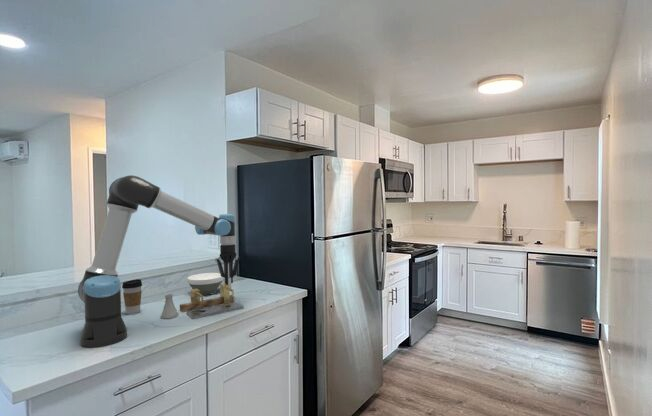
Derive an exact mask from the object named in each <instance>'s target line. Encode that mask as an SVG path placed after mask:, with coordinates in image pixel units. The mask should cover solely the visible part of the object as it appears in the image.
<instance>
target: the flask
mask: <svg viewBox="0 0 652 416" xmlns="http://www.w3.org/2000/svg"><path fill="white" fill-rule="evenodd" d="M173 295H174V294H173V293H167V294H165V295H164V297H165V302H164V305H163V309H162V311H161V314H160V319H163V320H165V319H166V320H170V319H173V318H177V317H178V316H179V312H178V311H177V308H176V306H175V304H174V301H173Z"/></svg>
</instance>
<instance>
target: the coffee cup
mask: <svg viewBox="0 0 652 416" xmlns="http://www.w3.org/2000/svg"><path fill="white" fill-rule="evenodd" d="M142 286H143V281H142V279H139V278H138V279H137V278H136V279H131V280H128V281H127V280H126V281H124V282H122V284H121V288H122V289H123V294H122V295H123V300H124V301H123V302H124V307H125V314H127V315H135V314H139V313H140V312H141V303H142V302H141V301H142V291H143V290H142Z"/></svg>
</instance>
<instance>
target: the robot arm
mask: <svg viewBox="0 0 652 416" xmlns="http://www.w3.org/2000/svg"><path fill="white" fill-rule="evenodd" d="M106 206H107V207H108V212H107V215H106V218H105V222H104V225H103V228H102V231H101V235H100V238H99V241H98V245H97V248H96V250H95V254H94V257H93V260H92V263H91V266H89V267H87V268H86V269H85V272H84V275H83V277H82V279H81V281H80V282H79V284H78V287H77V294H78V297H79V299H80V300H81V301H82V302H83V304H84V321H85V322H84V326H83V329H82V332H81V335H80V338H79V345H80V346H81V347H84V348H98V347H105V346H109V345H113V344H116V343H119V342H122V341H123V340H124V339H126V338H127V337H128V329H127V326H126V324H125V321H124V319H123V317H122V296H121V292H122V291H121V288H122V284H121V280H120V278H119V277H118V276H119V274H118V271H117V270H116V269H117V265H118V261H119V258H120V255H121V251H122V249H123V246H124V241H125V238H126V235H127V232H128V228H129V225H130V220H131V218H132V216H133V214H135V213H136V212H137V211H138V208H139V206H142V207H145V208H147V209H151V208H153V209H156V210H158V211H160V212H162V213H164V214H167V215H169V216H172V217H174V218H176V219H179V220H181V221H183V222H185V223H188V224H190V225H192V226H194V228H195V233H196V234H197V235H198V236H199V235H203V236H205V235H212V236H219V244H220V246H219V247H220V248H219V249H220V250H219V251H220V253H219V257H218V258H215V261H214V262H215V263H217V267H218V271H219V273H220V275H221V277H223V279H224V284H228V285H229V288H230V289H232V284H234V283H233V282H234V277H235V276H237V272H238V268H239V265H240V264H239V263H240V260H241V258H242V257H241V256H239V255H237V253H236V244H235V243H236V227H235V226H236V221H235V220H236V219H235V215H234V214H232V213H223V214H221V213H220V214H219V216H218V217H217V216H215V215H213V214H211V213H209V212H207V211H205V210H202V209H200V208H198V207H196V206H194V205H192V204H190V203H188V202H186V201H184V200H181V199H180V198H177V197H175V196H173V195H171V194H168V193H166V192H164V191H162V190H161V187H160V186H158V185H155V184H153V183H152V182H150V181H148V180H146V179H144V178H142V177H140V176H137V175H125V176H122V177H118V178H117V179H115V180H114V181H113V182H111V184H110V185H109V188H108V199H107V202H106ZM222 263H223V264H222Z"/></svg>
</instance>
